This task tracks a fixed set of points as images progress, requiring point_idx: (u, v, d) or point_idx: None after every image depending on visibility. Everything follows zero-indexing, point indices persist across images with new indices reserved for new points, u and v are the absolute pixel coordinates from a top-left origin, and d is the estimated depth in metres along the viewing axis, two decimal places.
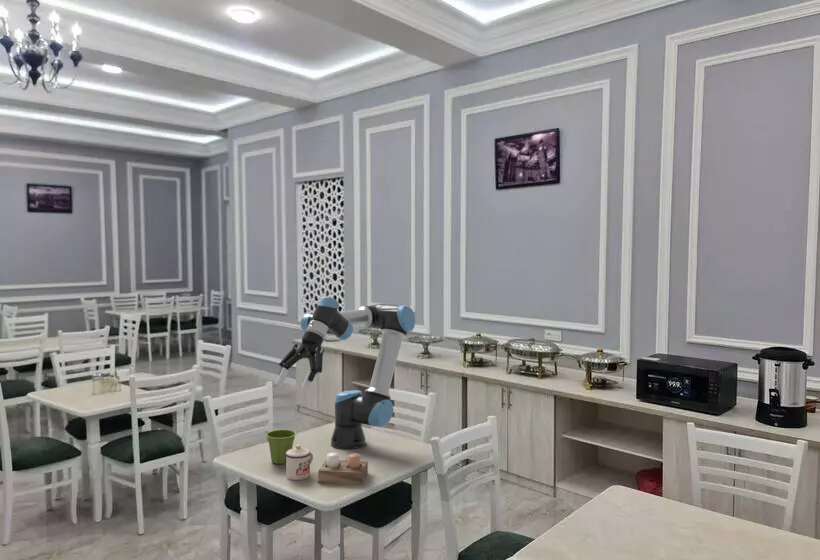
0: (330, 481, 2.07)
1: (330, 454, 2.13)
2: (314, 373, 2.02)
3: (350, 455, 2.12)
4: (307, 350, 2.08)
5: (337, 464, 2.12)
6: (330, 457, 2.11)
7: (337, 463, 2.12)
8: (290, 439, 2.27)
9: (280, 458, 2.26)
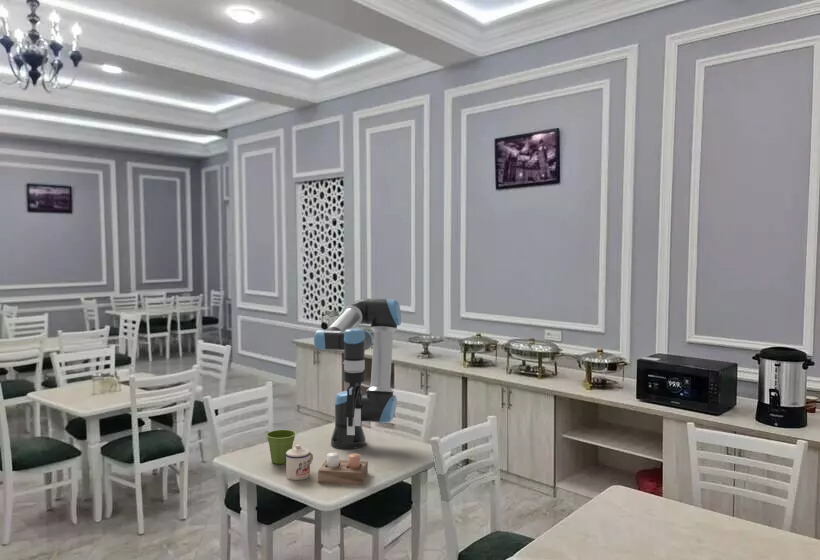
0: (330, 481, 2.07)
1: (330, 454, 2.13)
2: (349, 418, 2.05)
3: (350, 455, 2.12)
4: None
5: (337, 464, 2.12)
6: (330, 457, 2.11)
7: (337, 463, 2.12)
8: (290, 439, 2.27)
9: (280, 458, 2.26)
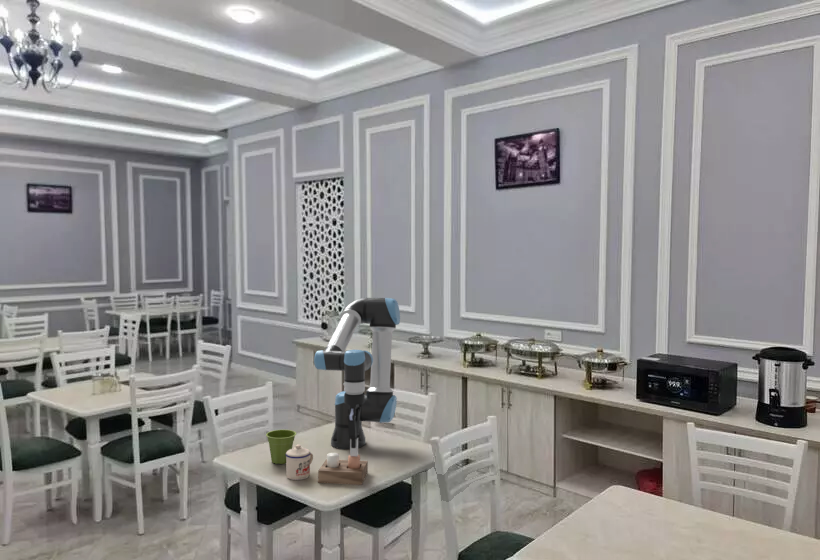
0: (330, 481, 2.07)
1: (330, 454, 2.13)
2: (353, 440, 2.10)
3: (350, 456, 2.12)
4: None
5: (337, 464, 2.12)
6: (330, 457, 2.11)
7: (337, 463, 2.12)
8: (290, 439, 2.27)
9: (280, 458, 2.26)
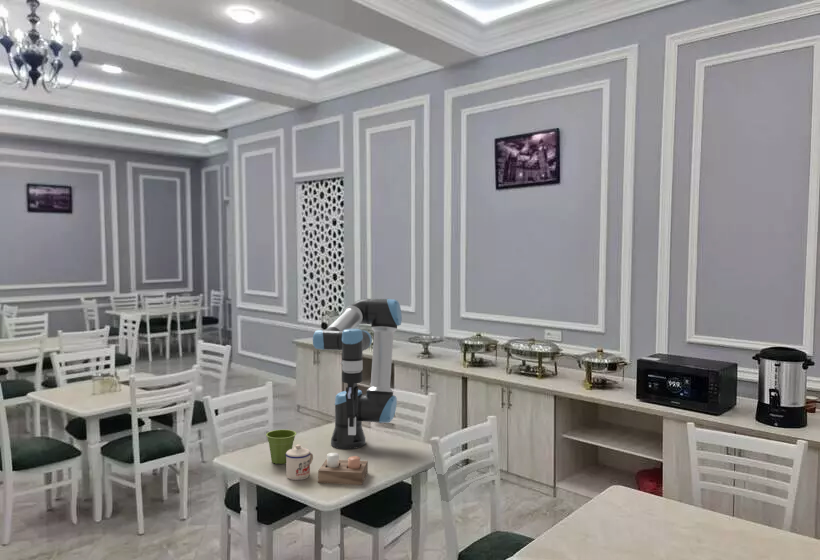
0: (330, 481, 2.07)
1: (330, 454, 2.13)
2: (351, 419, 2.10)
3: (350, 458, 2.12)
4: None
5: (337, 464, 2.12)
6: (330, 457, 2.11)
7: (337, 463, 2.12)
8: (290, 439, 2.27)
9: (280, 458, 2.26)
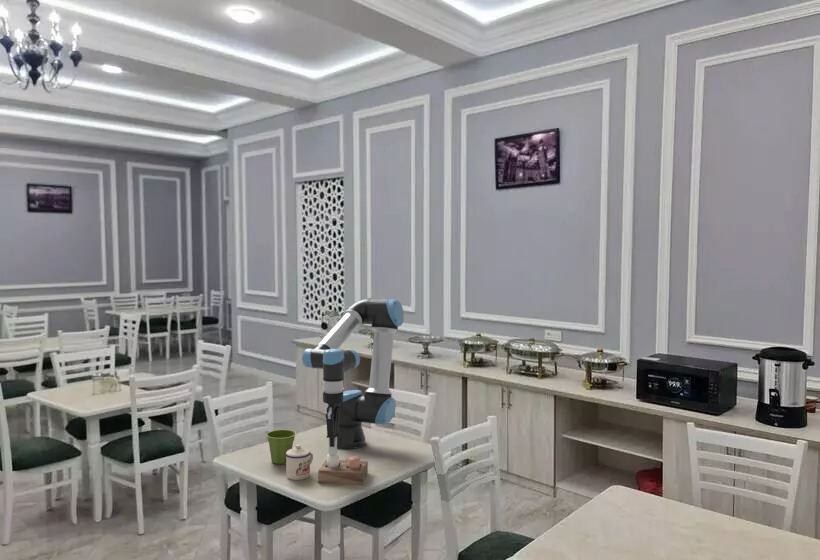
0: (330, 481, 2.07)
1: None
2: (331, 439, 2.11)
3: (350, 458, 2.12)
4: None
5: (337, 464, 2.12)
6: (330, 457, 2.11)
7: (337, 463, 2.12)
8: (290, 439, 2.27)
9: (280, 458, 2.26)
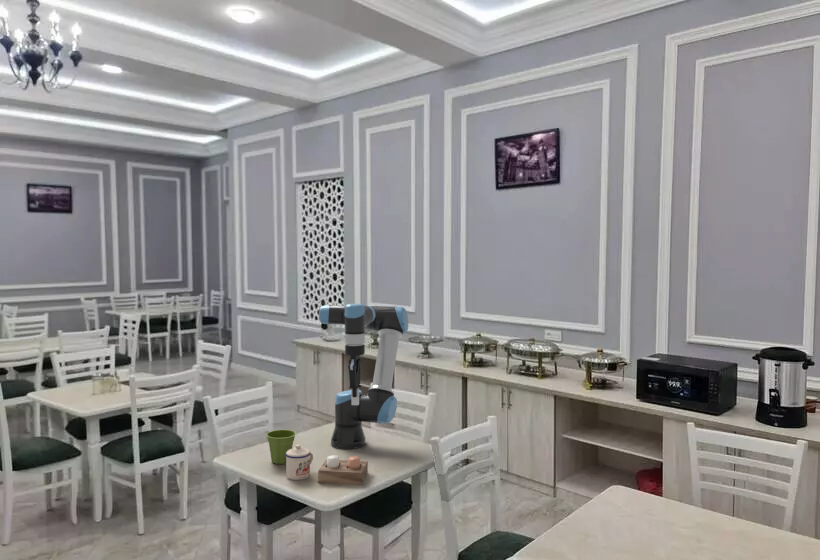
0: (330, 481, 2.07)
1: (330, 457, 2.13)
2: (354, 390, 2.20)
3: (350, 458, 2.12)
4: None
5: (337, 467, 2.12)
6: (330, 459, 2.11)
7: (337, 466, 2.12)
8: (290, 439, 2.27)
9: (280, 458, 2.26)
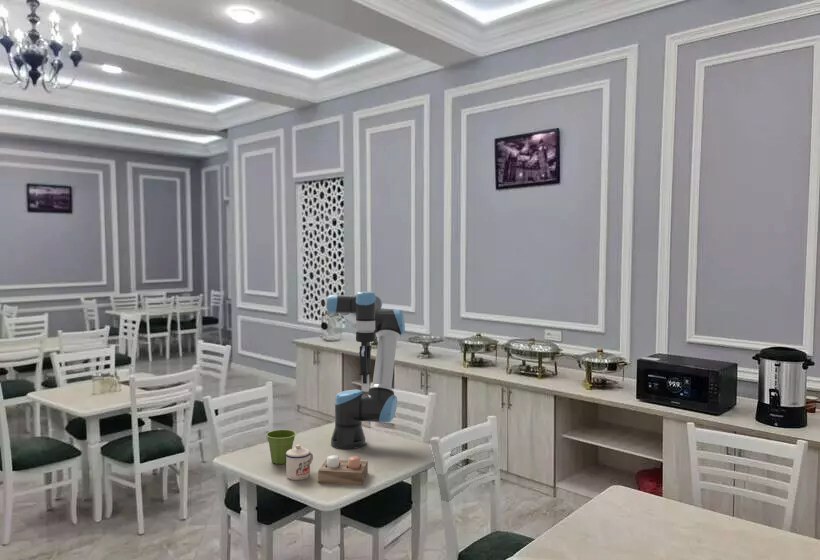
0: (330, 481, 2.07)
1: (330, 457, 2.13)
2: (364, 376, 2.23)
3: (350, 458, 2.12)
4: None
5: (337, 467, 2.12)
6: (330, 459, 2.11)
7: (337, 466, 2.12)
8: (290, 439, 2.27)
9: (280, 458, 2.26)
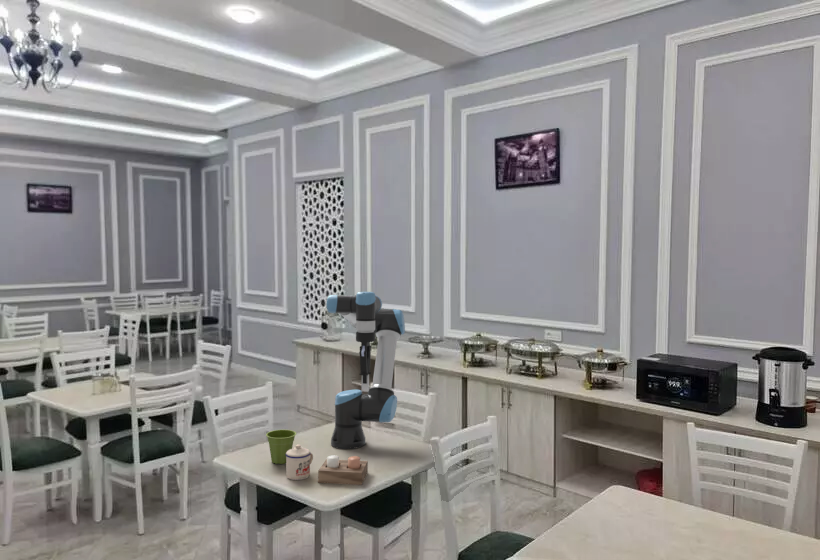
0: (330, 481, 2.07)
1: (330, 457, 2.13)
2: (364, 376, 2.23)
3: (350, 458, 2.12)
4: None
5: (337, 467, 2.12)
6: (330, 459, 2.11)
7: (337, 466, 2.12)
8: (290, 439, 2.27)
9: (280, 458, 2.26)
